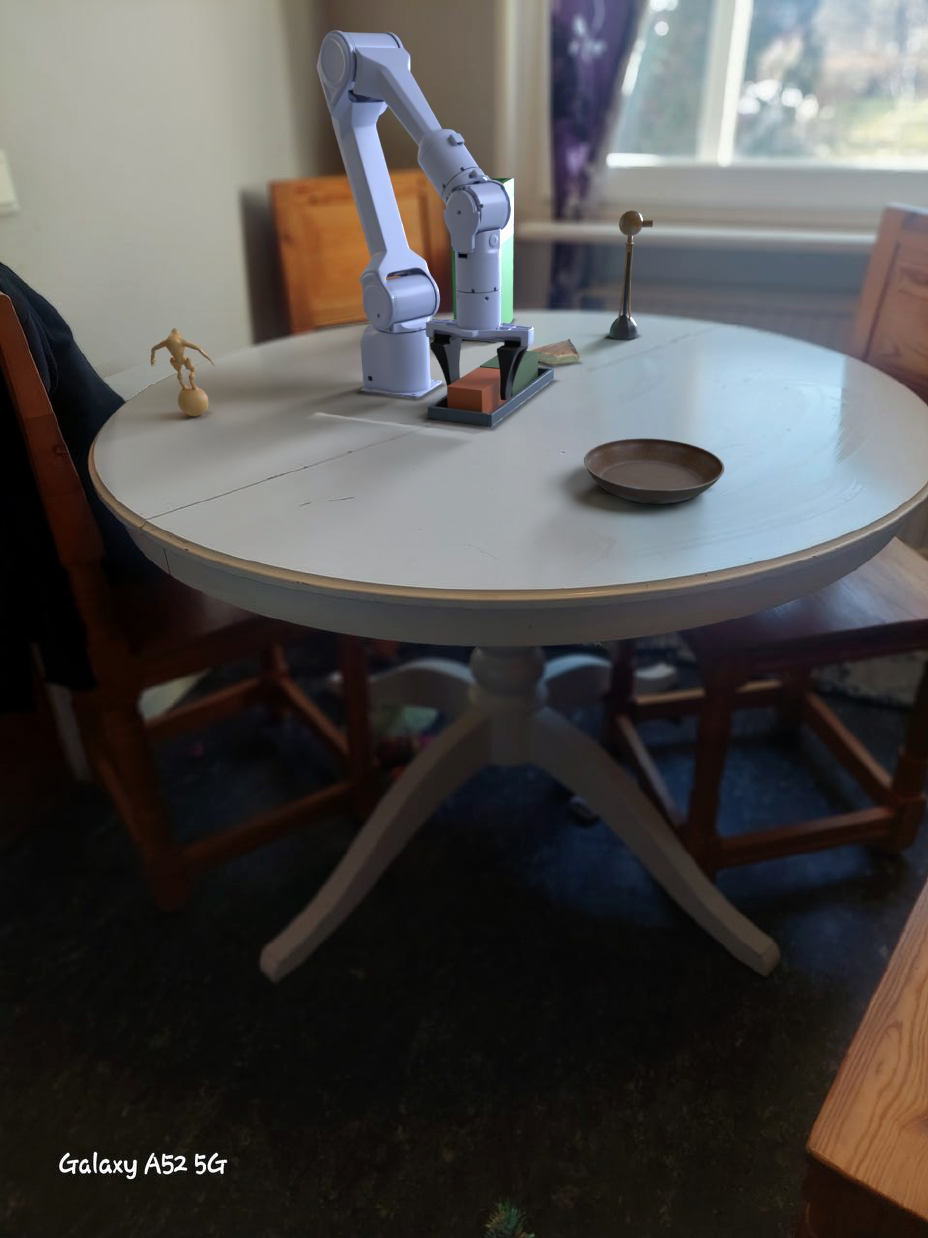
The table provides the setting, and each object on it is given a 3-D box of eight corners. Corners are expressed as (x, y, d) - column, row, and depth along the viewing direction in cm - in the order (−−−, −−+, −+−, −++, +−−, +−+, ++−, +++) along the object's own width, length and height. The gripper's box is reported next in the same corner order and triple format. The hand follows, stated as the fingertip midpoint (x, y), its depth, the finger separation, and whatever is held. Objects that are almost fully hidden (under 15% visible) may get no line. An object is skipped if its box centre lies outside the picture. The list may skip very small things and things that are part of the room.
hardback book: (496, 342, 150) (495, 187, 138) (454, 341, 151) (450, 187, 139) (512, 319, 165) (513, 177, 152) (474, 318, 166) (472, 177, 154)
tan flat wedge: (568, 347, 146) (569, 336, 145) (605, 355, 141) (605, 344, 140) (525, 360, 140) (525, 349, 139) (561, 369, 135) (561, 357, 134)
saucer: (748, 501, 90) (752, 477, 89) (618, 521, 87) (620, 496, 86) (679, 454, 103) (681, 431, 101) (562, 469, 99) (563, 446, 98)
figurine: (229, 410, 120) (215, 321, 114) (217, 424, 115) (201, 332, 109) (170, 410, 121) (153, 321, 115) (155, 425, 116) (136, 332, 110)
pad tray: (427, 421, 115) (427, 406, 114) (496, 375, 133) (496, 362, 132) (491, 429, 111) (491, 414, 110) (553, 381, 129) (554, 368, 128)
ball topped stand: (642, 332, 154) (652, 208, 143) (644, 339, 150) (654, 211, 139) (608, 332, 154) (616, 208, 144) (609, 339, 150) (617, 212, 140)
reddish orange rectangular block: (447, 416, 115) (446, 386, 113) (478, 395, 123) (478, 366, 121) (482, 420, 113) (481, 390, 111) (511, 399, 121) (511, 370, 119)
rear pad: (479, 394, 123) (479, 365, 121) (506, 375, 131) (506, 348, 129) (512, 397, 121) (512, 369, 119) (537, 378, 129) (538, 351, 127)
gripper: (413, 291, 110) (418, 397, 117) (519, 298, 104) (518, 409, 111) (437, 281, 115) (441, 383, 122) (540, 287, 110) (538, 394, 117)
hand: (479, 394), depth 117 cm, fingers open, 7 cm apart
